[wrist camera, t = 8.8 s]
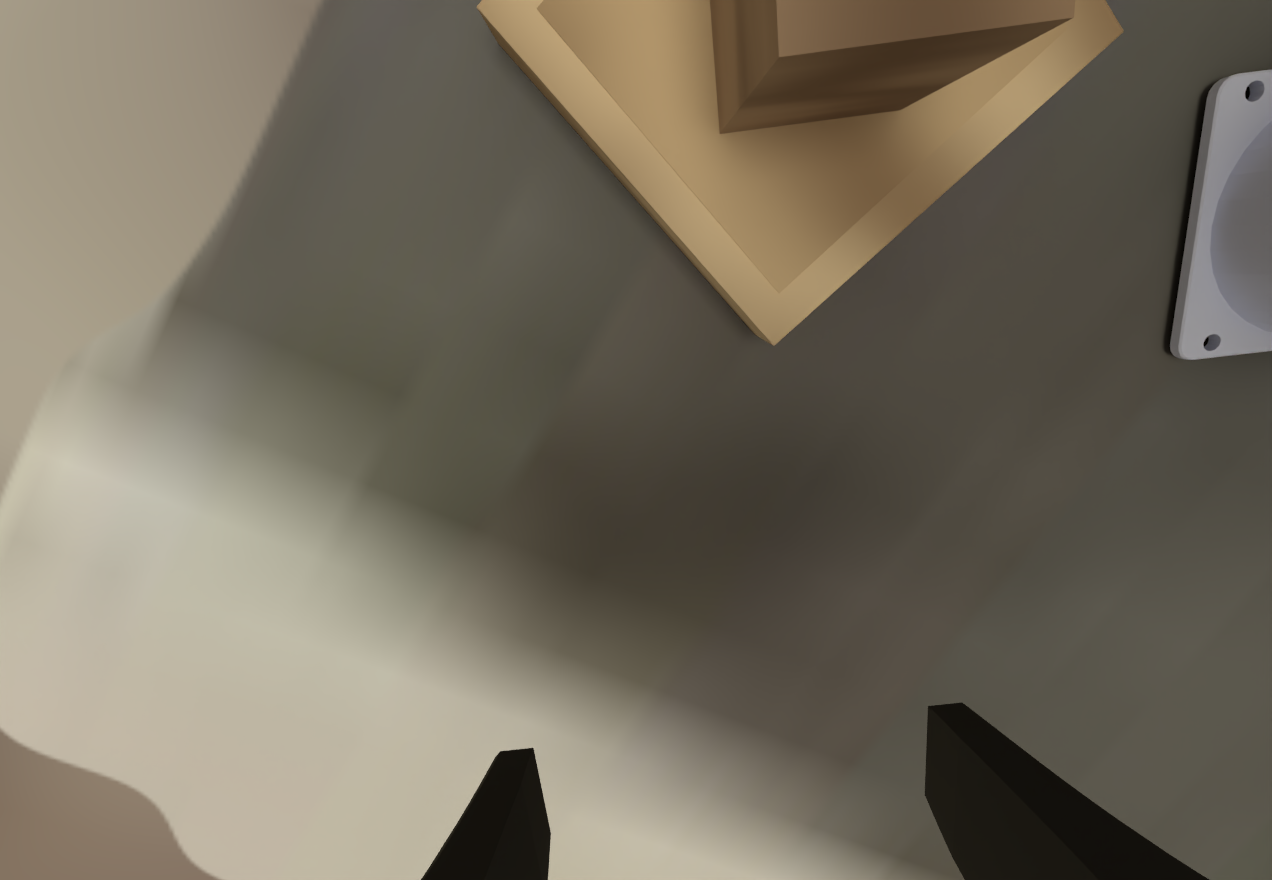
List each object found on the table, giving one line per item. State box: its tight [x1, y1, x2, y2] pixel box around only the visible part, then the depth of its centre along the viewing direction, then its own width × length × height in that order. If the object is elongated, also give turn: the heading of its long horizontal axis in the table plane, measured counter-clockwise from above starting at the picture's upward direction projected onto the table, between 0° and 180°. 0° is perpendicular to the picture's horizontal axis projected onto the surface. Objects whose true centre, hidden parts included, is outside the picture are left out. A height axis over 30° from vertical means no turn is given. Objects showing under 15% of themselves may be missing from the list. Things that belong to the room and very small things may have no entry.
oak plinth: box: [477, 0, 1124, 346], centre depth 15 cm, size 11×11×3 cm
